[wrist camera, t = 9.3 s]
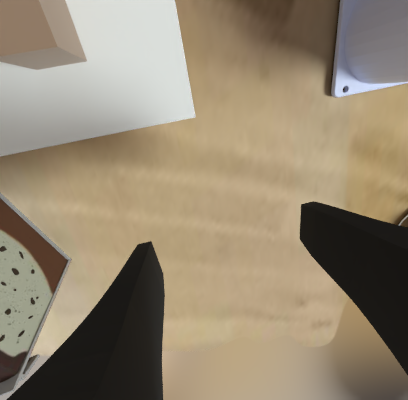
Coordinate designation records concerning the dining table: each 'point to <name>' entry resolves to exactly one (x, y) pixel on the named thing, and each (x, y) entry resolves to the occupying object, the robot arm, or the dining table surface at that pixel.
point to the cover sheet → (88, 70)
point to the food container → (24, 290)
